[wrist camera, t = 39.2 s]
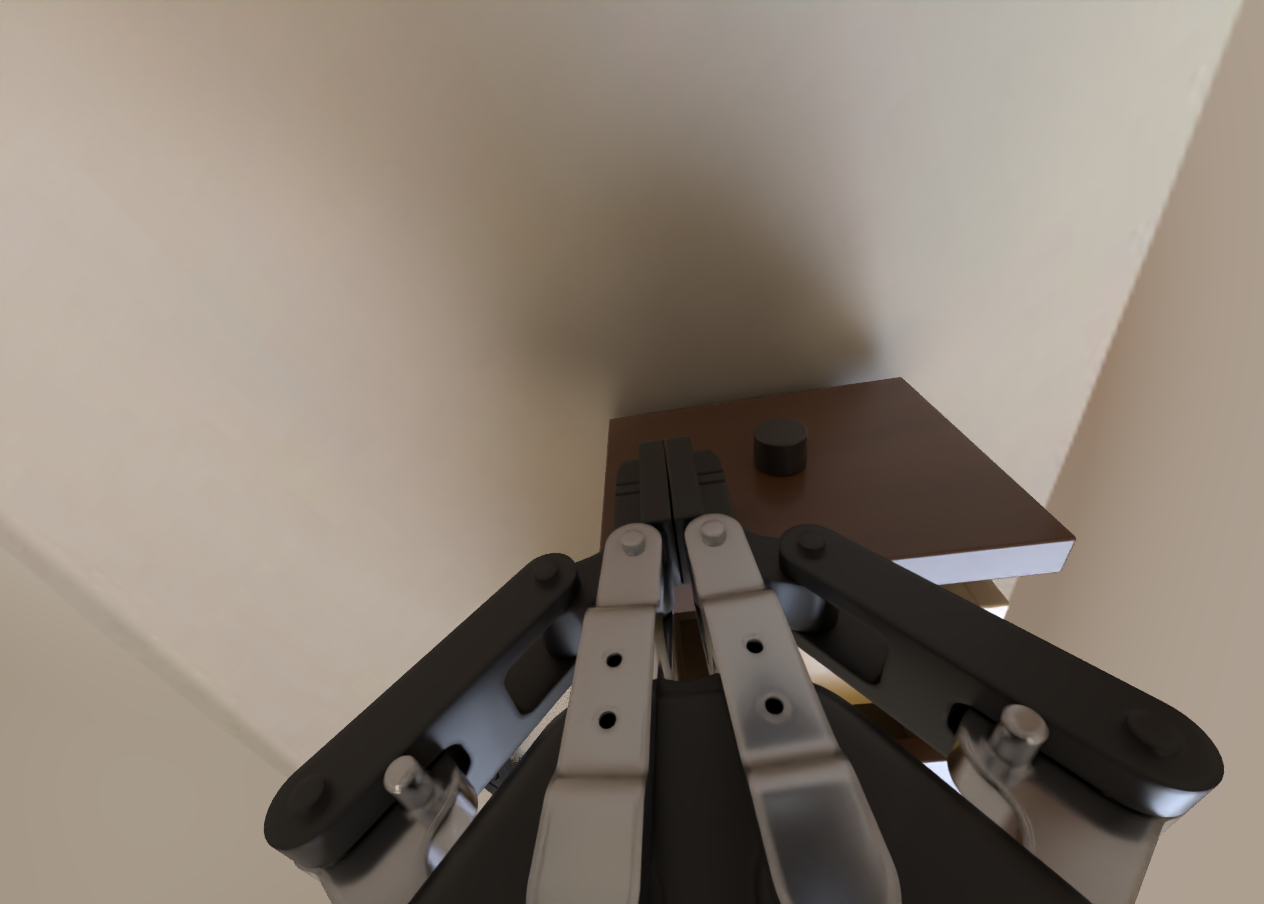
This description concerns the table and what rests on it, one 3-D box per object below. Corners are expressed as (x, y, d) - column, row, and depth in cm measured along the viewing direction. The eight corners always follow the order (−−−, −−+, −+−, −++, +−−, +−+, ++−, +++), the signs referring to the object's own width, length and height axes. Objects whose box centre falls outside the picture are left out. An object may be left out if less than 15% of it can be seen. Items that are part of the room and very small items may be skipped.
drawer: (603, 392, 19) (585, 558, 12) (906, 346, 18) (1097, 497, 10) (652, 615, 26) (660, 801, 19) (867, 591, 25) (963, 779, 18)
